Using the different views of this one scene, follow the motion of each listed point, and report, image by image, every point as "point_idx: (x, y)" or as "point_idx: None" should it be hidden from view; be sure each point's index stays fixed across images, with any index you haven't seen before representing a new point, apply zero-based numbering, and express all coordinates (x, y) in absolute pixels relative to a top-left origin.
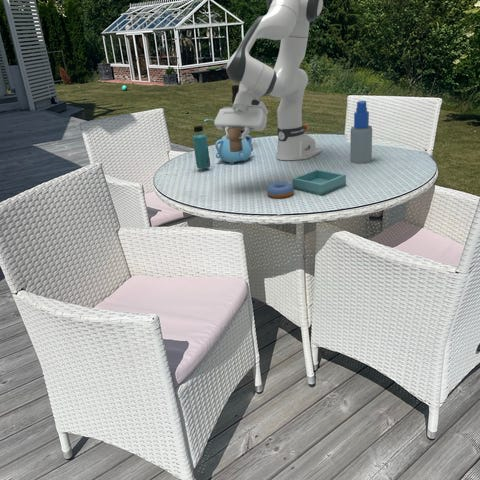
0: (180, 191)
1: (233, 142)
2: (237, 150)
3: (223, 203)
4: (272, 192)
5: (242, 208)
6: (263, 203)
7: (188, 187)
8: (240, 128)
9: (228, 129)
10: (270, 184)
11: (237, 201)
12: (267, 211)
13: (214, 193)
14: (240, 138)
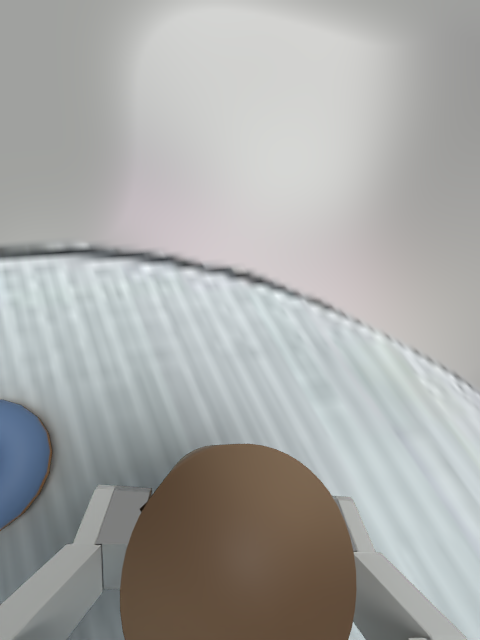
0: (438, 427)
1: (215, 445)
2: (183, 457)
3: (209, 329)
4: (8, 402)
5: (122, 294)
6: (53, 347)
7: (444, 482)
8: (121, 620)
9: (324, 488)
10: (20, 470)
11: (165, 354)
12: (22, 278)
13: (296, 427)
14: (133, 488)
